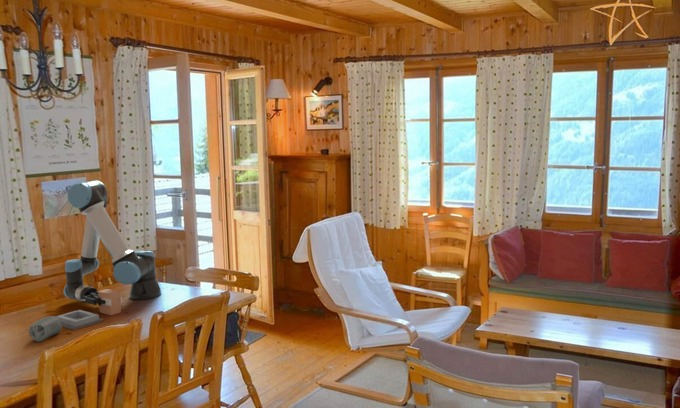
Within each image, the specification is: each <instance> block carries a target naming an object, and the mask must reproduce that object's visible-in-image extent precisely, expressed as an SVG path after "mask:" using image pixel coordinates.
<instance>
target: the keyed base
mask: <svg viewBox="0 0 680 408" xmlns="http://www.w3.org/2000/svg"><path fill="white" fill-rule="evenodd" d="M55 317H57V318H58V319H59V320H60V322H61V325H62V328H66V329H69V330H72V331H75V330H79V329H82V328H85V327H87V326H91V325H94V324H97V323H101V322H104V318H101V317H100V316H99V314H97V313H94V312H90V311H85V310H83V309H77V310H73V311H69V312H66V313H63V314H60V315H55Z"/></svg>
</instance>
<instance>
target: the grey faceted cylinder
mask: <svg viewBox="0 0 680 408" xmlns="http://www.w3.org/2000/svg"><path fill="white" fill-rule="evenodd" d="M62 328H63V327H62V325H61V322H60V320H59V319H58V318H57V317H56V315H50V316H46V317H43V318H41V319H39V320H37V321H35V322H34V323H31V325H30V326H29V327H28V334H29V336H30V338H31V339H32V340H34V342H36V343H40V342H43V341H45V340H46V339H48V338H51V337H52V336H54V335H57V334H58V333H60V332H61V331H62Z"/></svg>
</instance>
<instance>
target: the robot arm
mask: <svg viewBox="0 0 680 408" xmlns="http://www.w3.org/2000/svg"><path fill="white" fill-rule="evenodd" d="M108 193H109V192H108V190H107V187H106V185H105V184H104V183H103V182H102V181H99V180H97V179H90V180H86V181H79V182H77V183H74V184H72V185H71V186H70V188H69V189H68V192H67V200H68V203H69V204H70V205H71V206H72V207H74V208H77V209H78V210H79V212H80V213H81V214H82V215H85V216H86V218H85V225H84V233H83V240H82V247H81V252H80V258H79V259H78V258H74V259H68V260H66V261H65V262H64V272H65V278H66V279H65V280H66V284H65V286H64V288H63V290H62V293H63V296H65V297H66V298H68V299H70V300H74V301H79V302H80V301H81V302H82V303H87V304H90V305H95V306H96V305H97V304H98V307H99V306H100V305H101V304H104V305H108V306H111V300H110V299H106V298H99V297H98V291H99V290H98V289H97V288H95V287H93V286H88V285H84V276H86V275H88V274H91V273H93V272H94V271H96V270H97V269H99V266H100V261H99V259H98V258H97V257H98V251H99V244H100V240H101V242H102V244H103V246H104V247H105V249H106V250H107V252H108V254H109V255H110V257H111V259H112V260H111V265H112V266H113V267H112V268H113V271H112V274H113V277H114V280H116V282H118V283H120V284H122V285H130V290H129V299H132V300H148V299H154V298H157V297H159V296H160V295H161V294H162V290H161V288H160V285H159V282H158V280H157V272H156V270H157V269H156V256H155V252H154V251H152V250H133V249H130V248H129V247H128V245H127V243H126V241H125V240H124V238H123V236H122V235H121V234H120V232H119V231H118V229H117V227H116V225H115V224H114V222H113V220H112V219H111V217H110V216H109V213H108V212H107V210H106V209H107V205H108V200H109V199H108V198H109V197H108V196H109V195H108ZM119 296H120V304H121V303H123V296H122V295H119Z"/></svg>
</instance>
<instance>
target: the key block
mask: <svg viewBox="0 0 680 408" xmlns="http://www.w3.org/2000/svg"><path fill="white" fill-rule="evenodd" d="M120 296H121V295H120V291H119V290H114V289H111V288H110V289H109V288H105V289H102V290H98V297H99V298H106V299H110V300H111V306H108V305H104V304H101V305H100V306H98V309H99V313H101V314H105V315H108V316H114V315H117V314H120V313H122V310H121V302H120Z"/></svg>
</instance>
